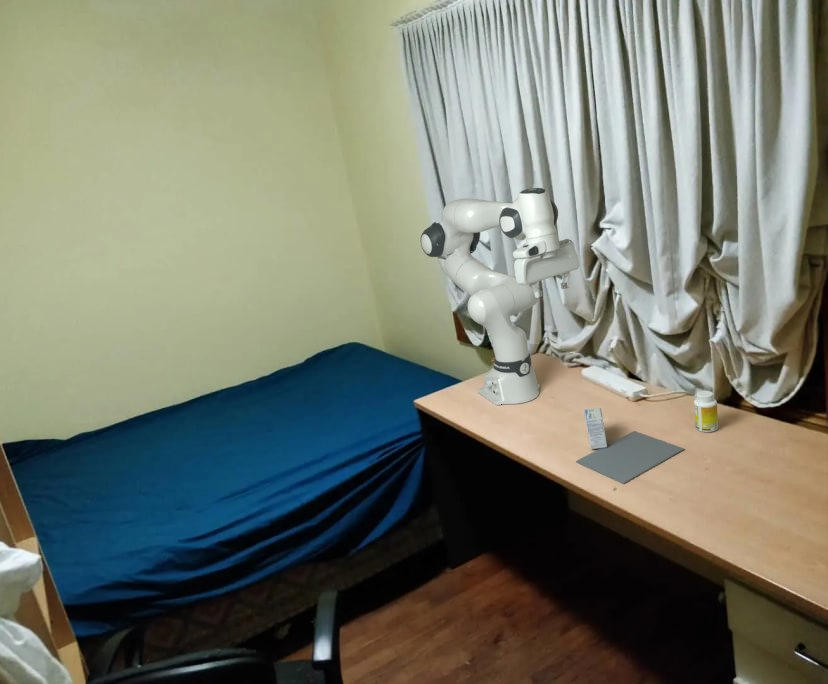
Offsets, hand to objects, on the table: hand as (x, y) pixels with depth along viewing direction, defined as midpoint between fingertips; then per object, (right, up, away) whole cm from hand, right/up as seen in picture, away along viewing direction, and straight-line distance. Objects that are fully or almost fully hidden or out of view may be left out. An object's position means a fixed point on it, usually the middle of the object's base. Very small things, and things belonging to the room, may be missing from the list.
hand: (552, 292), depth 182 cm
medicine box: (+10, -42, -9) cm, 44 cm away
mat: (+16, -44, -19) cm, 50 cm away
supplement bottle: (+39, -38, -13) cm, 55 cm away
